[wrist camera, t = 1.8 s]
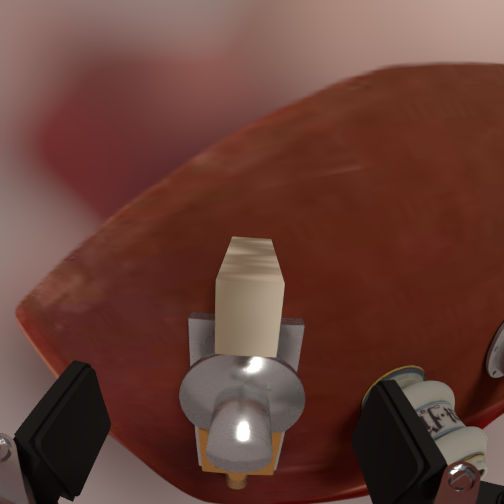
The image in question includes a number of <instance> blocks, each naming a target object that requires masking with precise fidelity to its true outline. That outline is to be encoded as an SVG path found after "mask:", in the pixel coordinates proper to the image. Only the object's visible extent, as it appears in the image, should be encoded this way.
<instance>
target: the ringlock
mask: <svg viewBox="0 0 504 504" xmlns="http://www.w3.org/2000/svg"><path fill="white" fill-rule="evenodd" d="M303 332H304V322H303V320H302V318H281V322H280V331H279V339H278V347H277V355H276V357H254V356H237V355H223V354H215V314H211V313H200V312H191V314H190V316H189V347H190V368H189V369H188V370H187V372H186V374H185V376H184V378H183V381H182V384H181V387H180V392H179V400H180V404H181V407H182V410H183V411H184V413H185V415H186V416H187V418H188V419H189V420H190V421H191V422H192V423H193V424H194V425H195V433H196V443H197V452H198V461H199V466H202V471H207V472H217V473H226V484H227V485H228V486H229V487H230V488H232V489H242V488H244V487H246V485H247V484H248V476H249V475H273V471H274V470H276V468H277V464H278V459H279V455H280V451H281V447H282V442H283V438H284V433H285V431H286V430H287V429H288V428H290V427H291V426H292V425H293V424H294V423H295V422H296V421H297V420H298V418H299V417H300V415H301V413H302V412H303V409H304V405H305V393H304V389H303V385H302V381H301V379H300V377H299V375H298V374H297V368H298V362H299V356H300V350H301V344H302V338H303Z"/></svg>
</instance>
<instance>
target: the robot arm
mask: <svg viewBox="0 0 504 504" xmlns="http://www.w3.org/2000/svg"><path fill="white" fill-rule="evenodd" d="M486 371H487V373H488V374H489V375H490V376H491V377H493V378H499V377H501V376H503V375H504V322H503V324H502V325H501V326H500V328H499V330H498V331H497V333H496V335H495V337H494V339H493V341H492V343H491V345H490V348H489V351H488V354H487V358H486ZM110 427H111V422H110V418H109V415H108V412H107V409H106V406H105V403H104V400H103V397H102V394H101V390H100V387H99V383H98V380H97V376H96V372H95V370H94V369H92V368H91V365H90V364H88V363H84V362H80V361H76V360H75V361H73V362H72V363H71V364H70V365H69V366H68V367H67V368H66V370H65V371H64V372H63V373H62V374H61V376H60V377H59V378H58V379H57V380H56V382H55V383H54V384H53V385H52V387H51V388H50V389H49V390H48V391H47V393H46V394H45V395H44V397H43V398H42V399H41V400H40V401H39V403H38V404H37V405H36V407H35V408H34V409H33V410H32V412H31V413H30V414H29V416H28V417H27V418H26V420H25V421H24V422H23V423H22V425H21V426H20V427H19V429H18V430H17V431H16V433H15V434H14V435H15V437H14V439H12V438H11V437H10V436H8V435H6V434H4V433H0V504H58V500H59V498H60V496H61V497H63V498H66V499H68V500H70V501H73V500H74V498H75V496H79V495H80V493H81V491H82V489H83V486H84V484H85V482H86V480H87V478H88V475H89V473H90V471H91V469H92V466H93V464H94V462H95V460H96V458H97V456H98V454H99V451H100V449H101V447H102V445H103V443H104V441H105V439H106V437H107V435H108V432H109V430H110ZM352 445H353V448H354V451H355V453H356V456H357V459H358V462H359V465H360V468H361V471H362V473H363V476H364V479H365V482H366V485H367V488H368V491H369V494H370V497H371V500H372V503H373V504H504V486H501V485H497V484H492V483H488V482H484V481H480V474H479V471H478V470H477V468H476V467H475V466H474V465H472V464H471V463H468V462H464V461H458V462H454V463H452V464H450V465H449V466H448V464H447V463H446V462H447V461H446V459H445V458H444V456H443V454H442V453H441V451H440V449H439V448H438V446H437V445H436V443H435V441H434V440H433V438H432V436H431V435H430V433H429V432H428V430H427V428H426V427H425V425H424V424H423V422H422V420H421V419H420V417H419V416H418V414H417V413H416V411H415V409H414V408H413V406H412V405H411V403H410V402H409V400H408V399H407V397H406V395H405V394H404V392H403V391H402V389H401V388H400V386H399V385H398V383H397V382H396V381H395V380H393V379H391V380H383V381H378V382H377V383H376V385H374V386H373V387H372V388H371V391H370V393H369V396H368V399H367V401H366V404H365V406H364V409H363V411H362V414H361V416H360V419H359V421H358V424H357V426H356V428H355V431H354V433H353V435H352Z"/></svg>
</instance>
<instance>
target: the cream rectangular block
mask: <svg viewBox="0 0 504 504" xmlns="http://www.w3.org/2000/svg"><path fill="white" fill-rule="evenodd" d="M284 285H285V284H284V280H283V277H282V274H281V270H280V267H279V264H278V260H277V257H276V254H275V250H274V247H273V244H272V241H271V239H259V238H243V237H232V239H231V242H230V244H229V247H228V250H227V252H226V255H225V257H224V260H223V263H222V265H221V268H220V271H219V273H218V276H217V278H216V299H215V354H223V355H237V356H254V357H276V355H277V347H278V339H279V331H280V322H281V313H282V304H283V295H284Z"/></svg>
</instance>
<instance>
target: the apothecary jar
mask: <svg viewBox="0 0 504 504" xmlns="http://www.w3.org/2000/svg"><path fill="white" fill-rule="evenodd" d="M391 379H393V380H395V381H396V382H397V383H398V385H399V386H400V388H401V389H402V391H403V392H404V394H405V395H406V397H407V399H408V400H409V402H410V403H411V405H412V406H413V408H414V409H415V411H416V413H417V414H418V416H419V417H420V419H421V420H422V422H423V424H424V425H425V427H426V428H427V430H428V432H429V433H430V435H431V436H432V438H433V440H434V441H435V443H436V445H437V446H438V448H439V449H440V451H441V453H442V454H443V456H444V458H445V459H446V461H447V462H446V463H447V464H448V466H449V465H450V464H452V463H454V462H458V461H464V462H468V463H471V464H472V465H474V466H475V467H476V468H477V470H478V471H479V474H480V481H481V480H482V479H483V477H484V476H485V474H486V472H487V470H488V467H487V464H486V462H485V457H484V455H485V453H486V450H487V445H488V440H487V436H486V434H485V432H484V431H483V430H482V429H480V428H478V427H466V426H465V425H464V424H463V423H462V421H461V420H460V419H459V417H458V416H457V415H456V413H455V412H454V405H455V399H454V394H453V392H452V390H451V389H450V388H449V387H448V386H447V385H446V384H444V383H442V382H438V381H428V378H426V377H425V376H424V370H423V369H422V368H420V367H417V366H404V367H400V368H396V369H394V370H392V371H390V372H388V373H386V374H385V375H383V376H382V377H380V378H379V379H378V380H377V381H376V382H375V383H374V384H373V385H372V386H371V387H370V388H369V390H368V391H367V392H366V394H365V396H364V398H363V401H362V406H361V409H362V411H363V409H364V406H365V404H366V401H367V399H368V396H369V393H370V391H371V388H372V387H373V386H374V385H376V383H377V382H378V381H383V380H391Z"/></svg>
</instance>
